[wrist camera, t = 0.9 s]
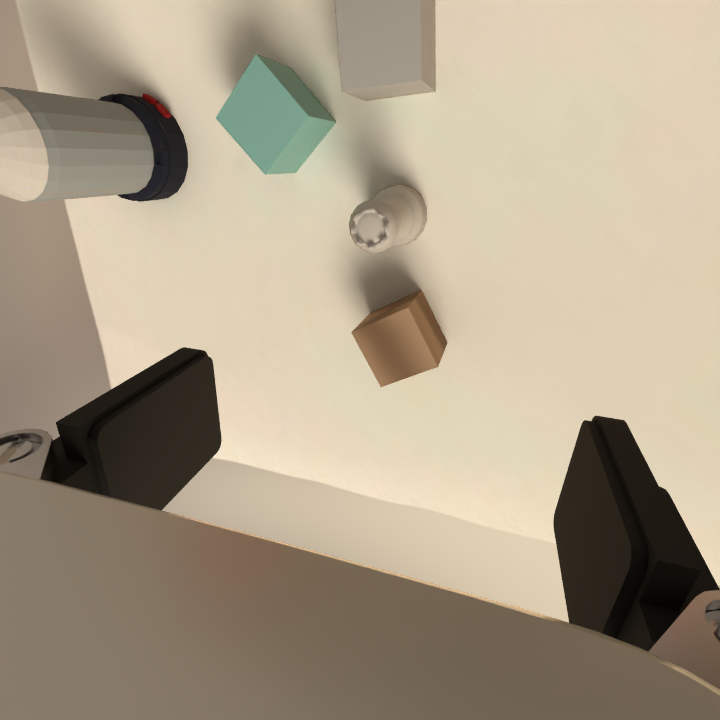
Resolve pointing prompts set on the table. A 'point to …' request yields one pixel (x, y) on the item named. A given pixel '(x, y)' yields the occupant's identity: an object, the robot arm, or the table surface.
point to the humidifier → (88, 147)
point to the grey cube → (386, 47)
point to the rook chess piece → (388, 219)
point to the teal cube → (274, 117)
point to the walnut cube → (401, 339)
